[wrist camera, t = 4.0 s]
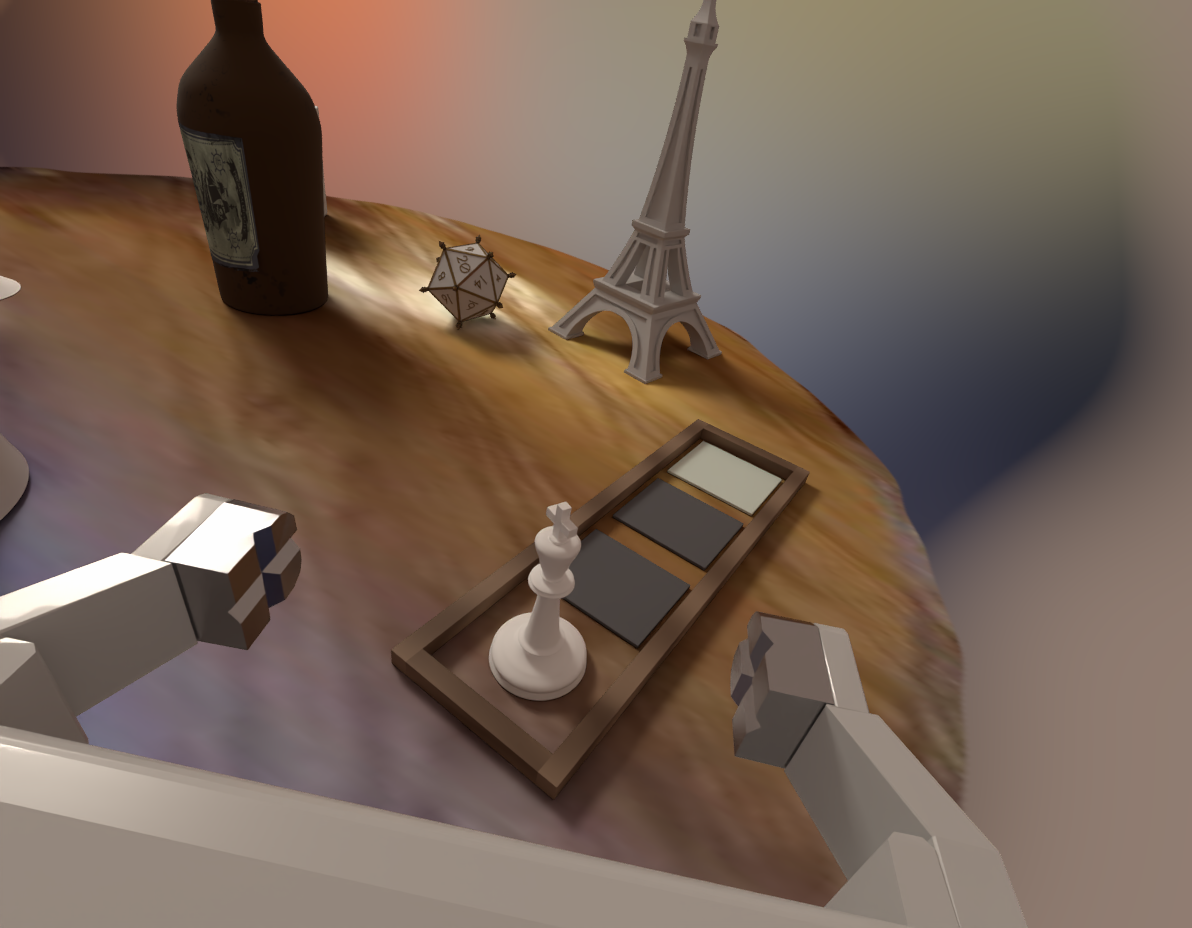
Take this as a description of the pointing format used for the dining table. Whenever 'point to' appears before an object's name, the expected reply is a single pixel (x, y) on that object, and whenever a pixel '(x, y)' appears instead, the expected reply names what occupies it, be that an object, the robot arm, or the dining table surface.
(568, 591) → the chess piece
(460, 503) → the dining table surface
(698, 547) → the tiles
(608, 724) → the tray
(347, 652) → the dining table surface
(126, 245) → the dining table surface
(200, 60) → the olive oil
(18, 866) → the robot arm
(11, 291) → the champagne flute
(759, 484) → the pad
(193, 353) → the dining table surface
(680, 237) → the eiffel tower
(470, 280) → the game die
